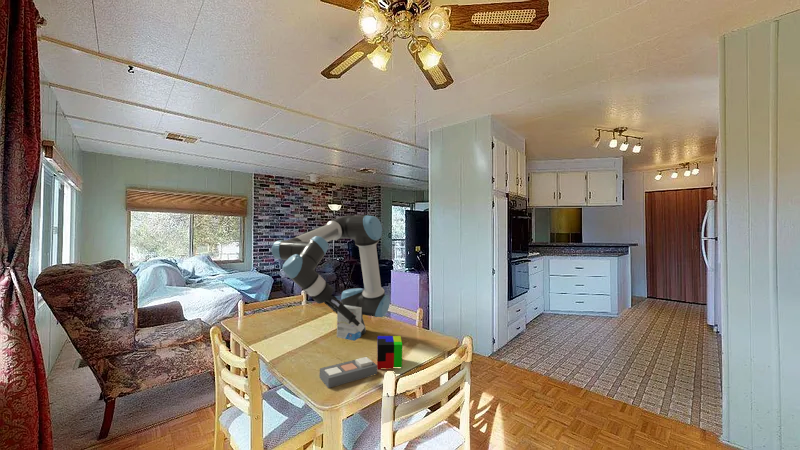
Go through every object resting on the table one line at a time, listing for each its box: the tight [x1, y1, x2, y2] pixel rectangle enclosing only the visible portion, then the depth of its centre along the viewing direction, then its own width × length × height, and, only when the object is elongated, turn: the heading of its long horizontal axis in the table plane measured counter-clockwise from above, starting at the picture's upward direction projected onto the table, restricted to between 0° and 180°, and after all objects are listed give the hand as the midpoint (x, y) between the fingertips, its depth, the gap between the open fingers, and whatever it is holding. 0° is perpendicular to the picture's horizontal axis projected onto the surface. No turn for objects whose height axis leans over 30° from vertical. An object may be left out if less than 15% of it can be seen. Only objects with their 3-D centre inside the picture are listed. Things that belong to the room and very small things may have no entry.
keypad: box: [319, 359, 378, 389], centre depth 121 cm, size 20×9×4 cm, turn 124°
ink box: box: [336, 305, 362, 341], centre depth 122 cm, size 9×5×12 cm, turn 66°
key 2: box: [354, 356, 373, 367], centre depth 125 cm, size 5×5×2 cm
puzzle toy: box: [376, 335, 403, 370], centre depth 133 cm, size 10×10×10 cm
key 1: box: [324, 367, 342, 376], centre depth 118 cm, size 5×5×2 cm
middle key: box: [340, 363, 357, 371], centre depth 121 cm, size 5×5×2 cm
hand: (356, 325), depth 124 cm, fingers closed on ink box, 10 cm apart
